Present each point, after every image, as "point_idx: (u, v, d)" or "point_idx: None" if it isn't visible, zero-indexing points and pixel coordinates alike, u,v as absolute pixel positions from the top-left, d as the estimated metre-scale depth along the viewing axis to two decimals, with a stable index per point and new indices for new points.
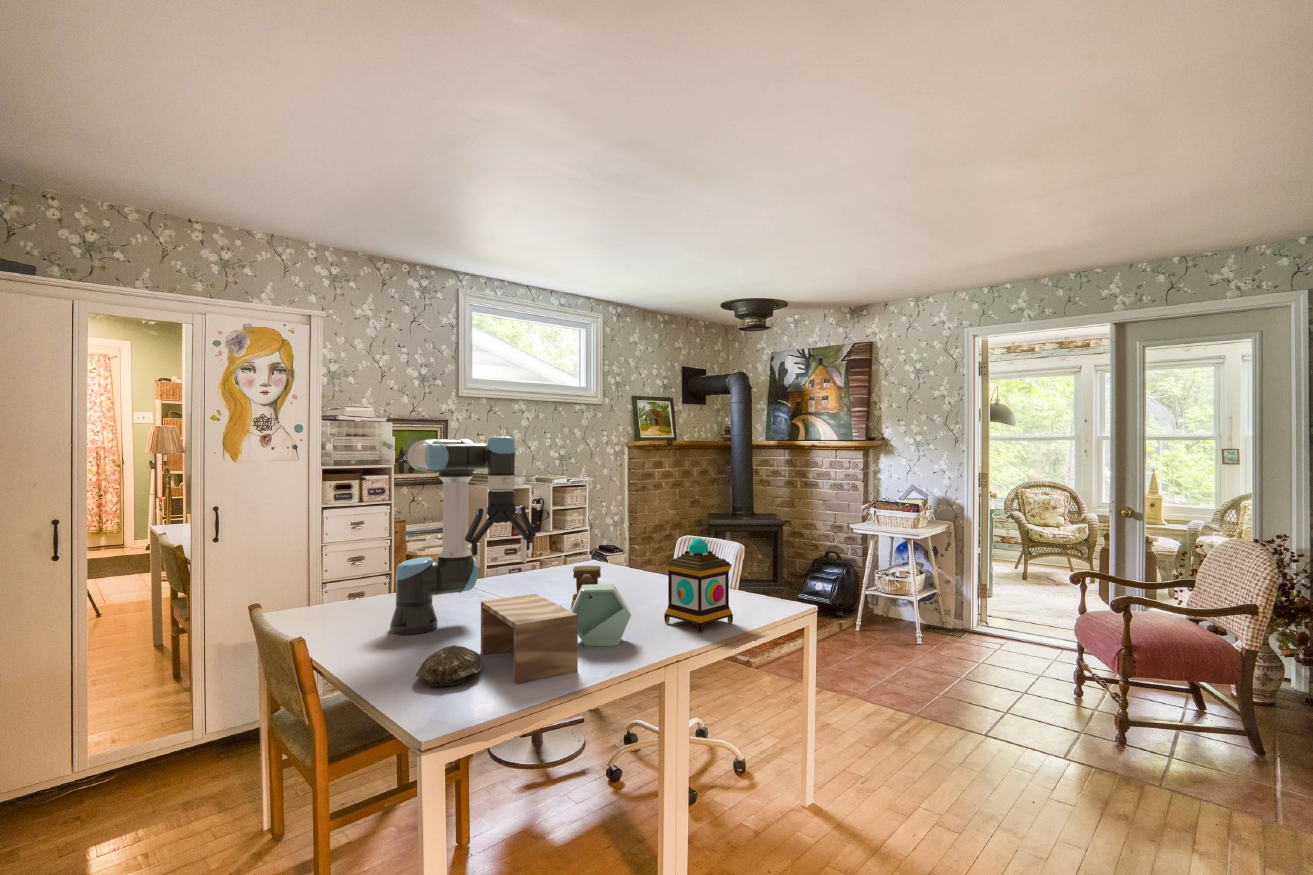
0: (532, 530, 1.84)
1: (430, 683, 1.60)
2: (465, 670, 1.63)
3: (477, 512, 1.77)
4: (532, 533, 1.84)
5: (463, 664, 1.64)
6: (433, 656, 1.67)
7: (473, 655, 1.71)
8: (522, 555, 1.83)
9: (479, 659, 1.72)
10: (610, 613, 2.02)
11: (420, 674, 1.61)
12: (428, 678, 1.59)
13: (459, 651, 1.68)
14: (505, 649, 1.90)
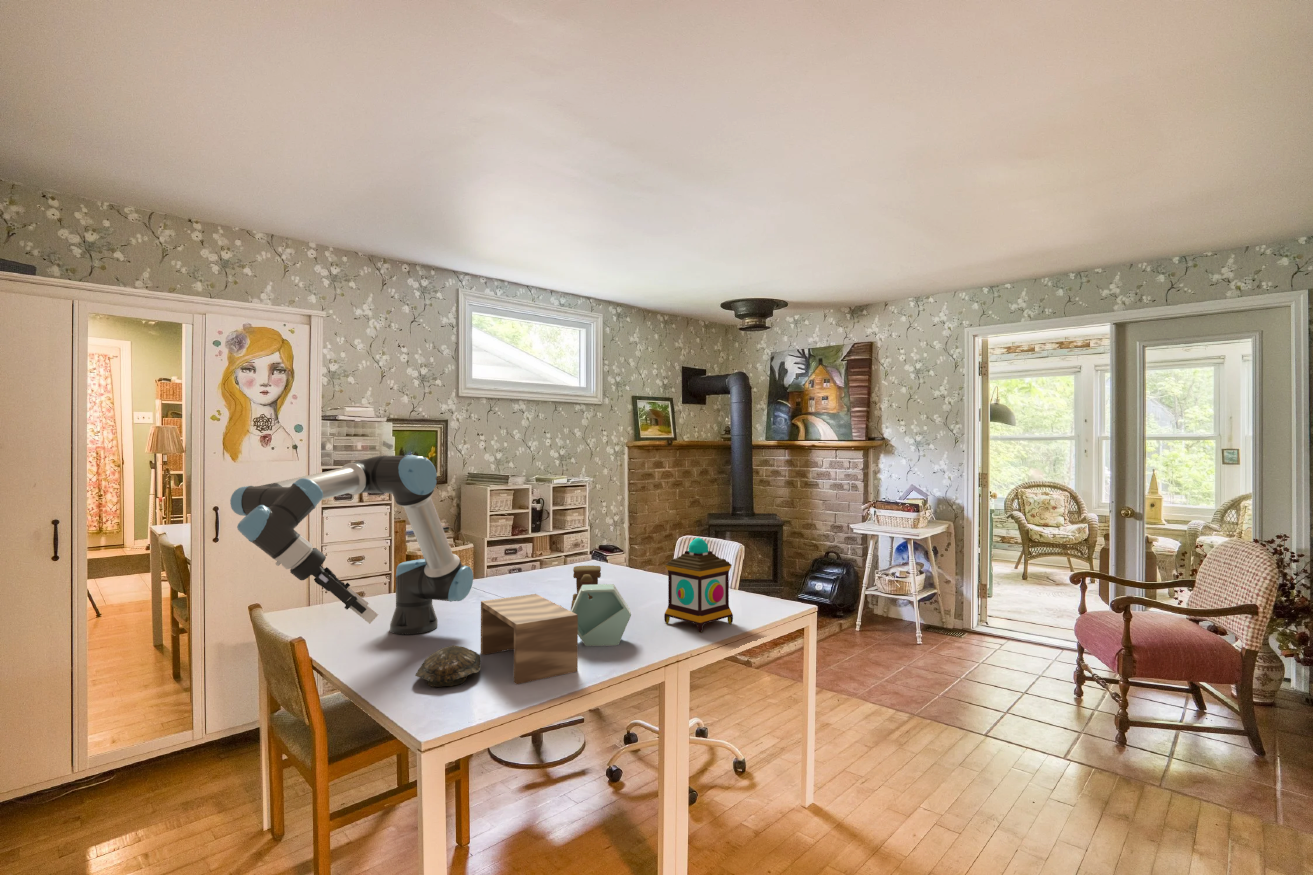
0: (342, 601, 1.46)
1: (430, 683, 1.60)
2: (465, 670, 1.63)
3: None
4: None
5: (463, 664, 1.64)
6: (433, 656, 1.67)
7: (473, 655, 1.71)
8: None
9: (479, 659, 1.72)
10: (610, 613, 2.02)
11: (420, 674, 1.61)
12: (428, 678, 1.59)
13: (459, 651, 1.68)
14: (505, 649, 1.90)
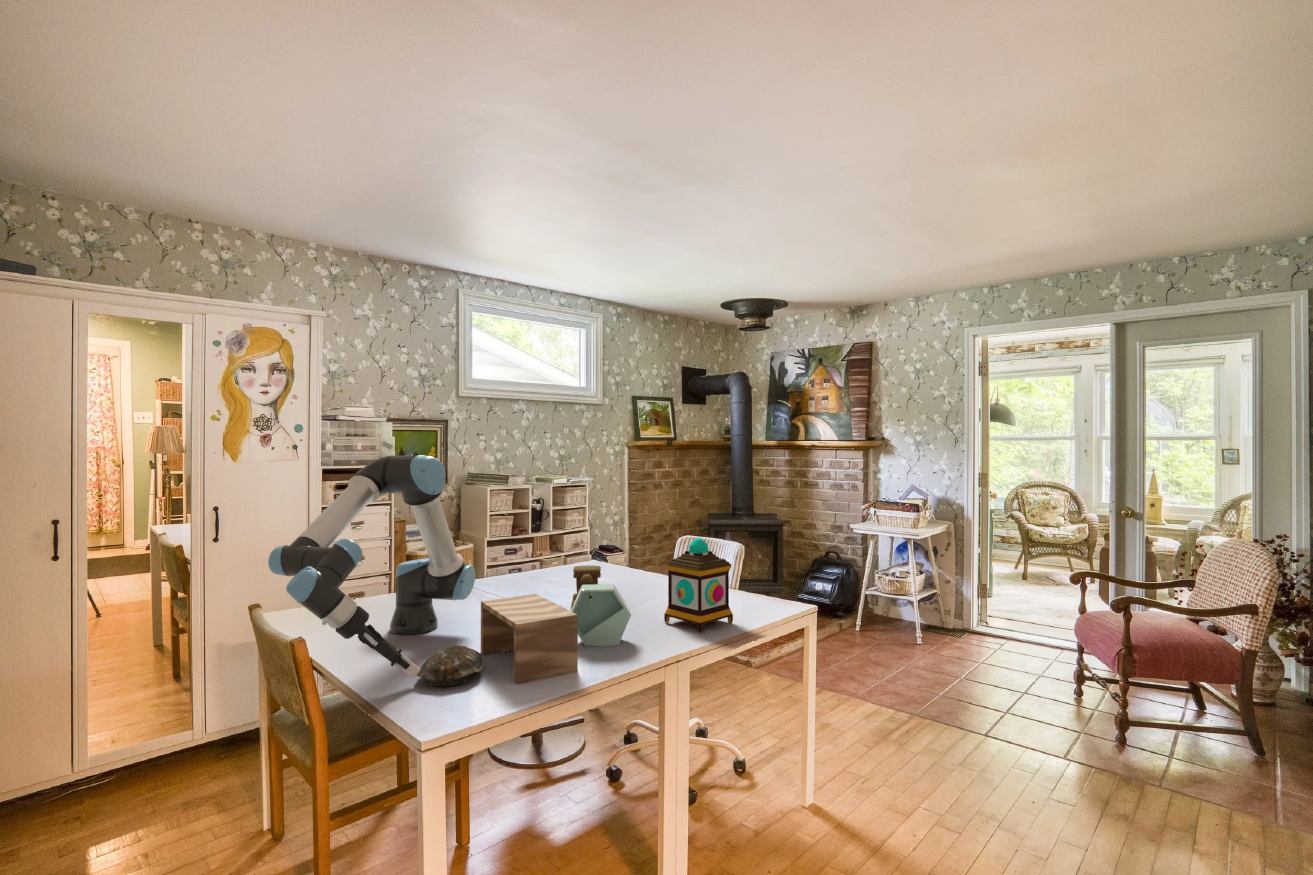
0: None
1: (432, 683, 1.60)
2: (466, 669, 1.63)
3: None
4: None
5: (464, 663, 1.64)
6: (434, 656, 1.67)
7: (474, 654, 1.71)
8: None
9: (480, 658, 1.72)
10: (610, 613, 2.02)
11: (421, 674, 1.61)
12: (430, 678, 1.59)
13: (460, 650, 1.68)
14: (505, 649, 1.90)
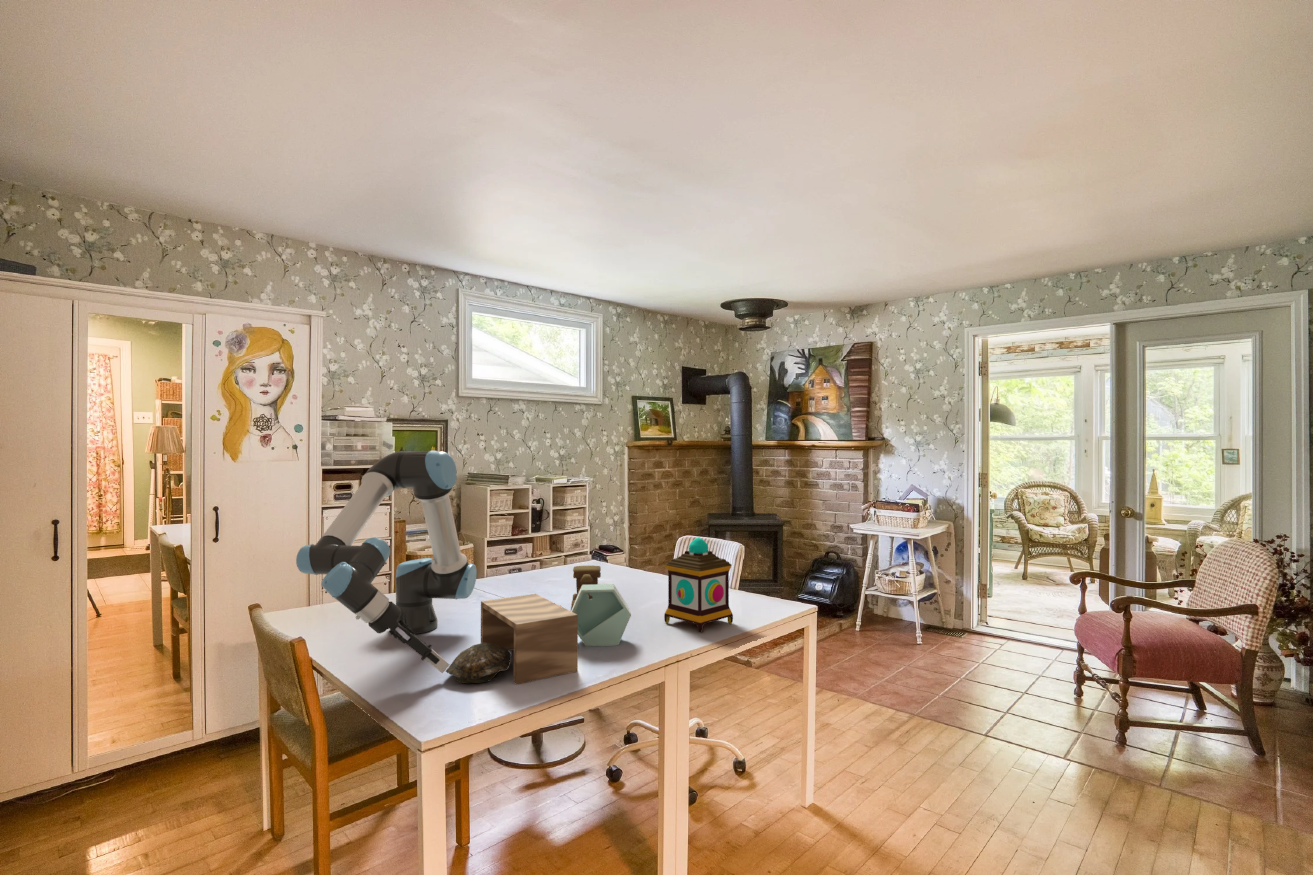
0: None
1: (458, 679, 1.63)
2: (492, 668, 1.64)
3: None
4: (421, 655, 1.60)
5: (490, 661, 1.65)
6: (463, 652, 1.70)
7: (503, 653, 1.72)
8: None
9: (509, 657, 1.73)
10: (610, 613, 2.02)
11: (449, 670, 1.64)
12: (456, 674, 1.61)
13: (488, 648, 1.70)
14: None
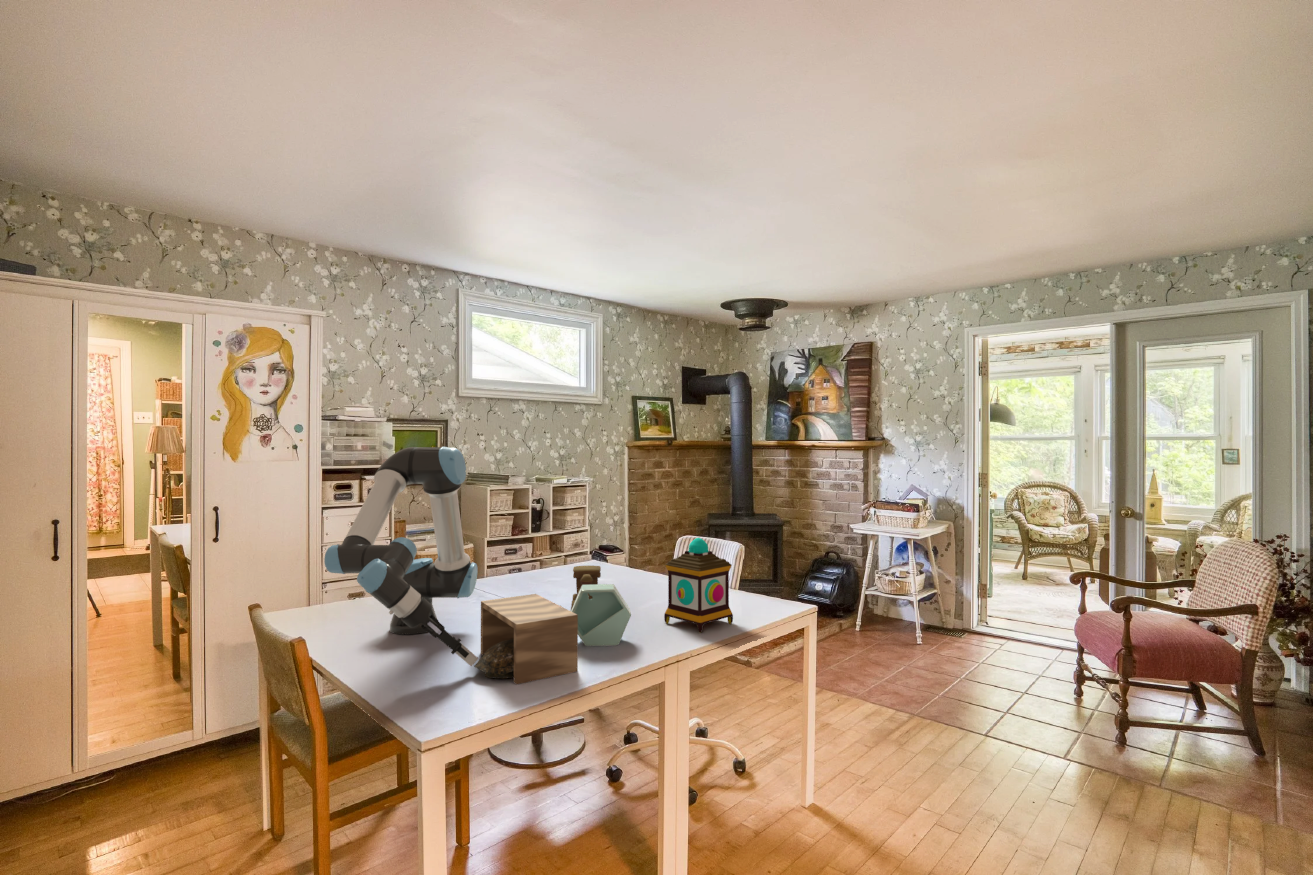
0: (450, 648, 1.64)
1: (486, 674, 1.66)
2: None
3: None
4: None
5: None
6: (491, 648, 1.73)
7: None
8: None
9: None
10: (610, 613, 2.02)
11: (477, 665, 1.68)
12: (483, 669, 1.65)
13: None
14: None
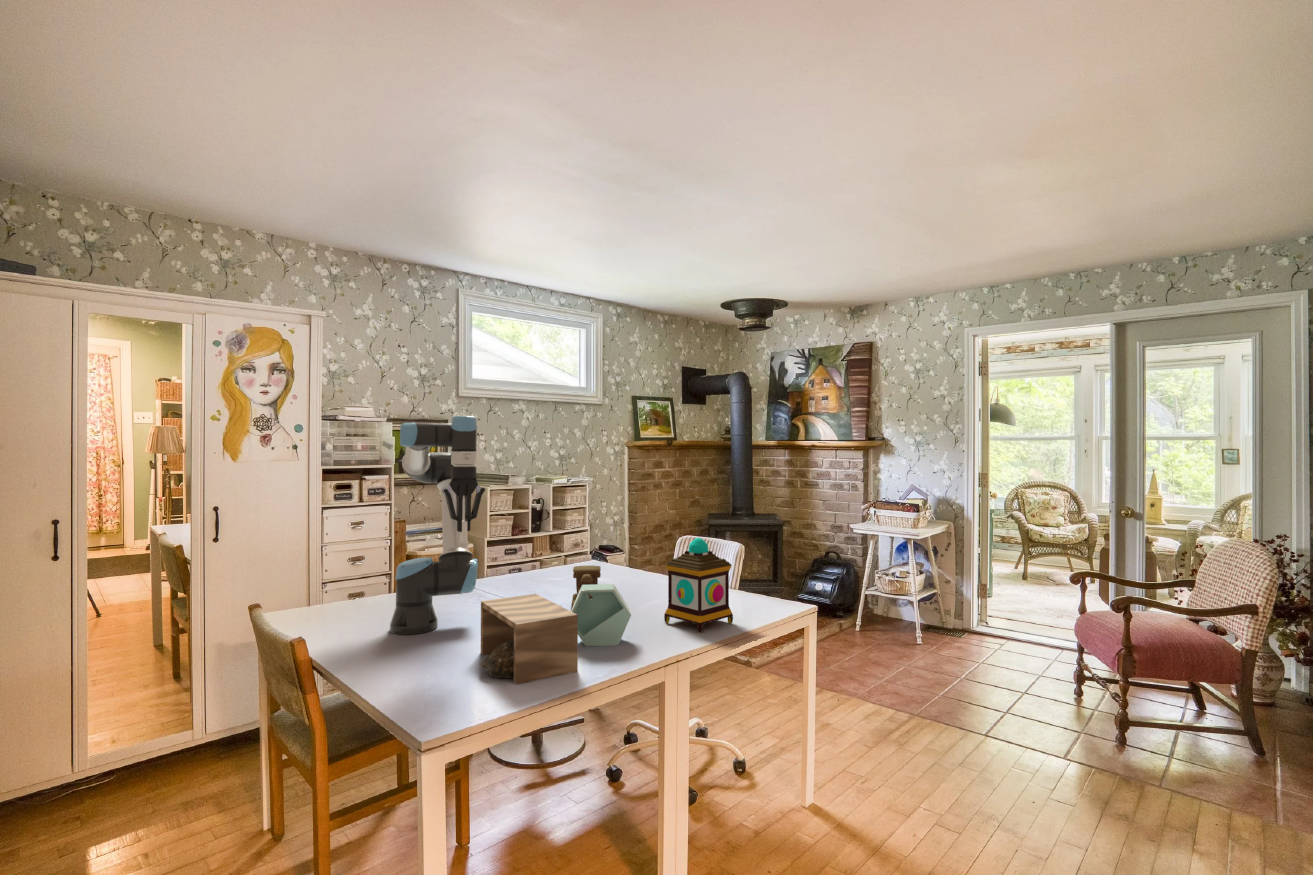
0: (476, 512, 1.94)
1: (490, 673, 1.67)
2: None
3: (444, 493, 1.90)
4: (474, 514, 1.94)
5: None
6: (498, 647, 1.74)
7: None
8: None
9: None
10: (610, 613, 2.02)
11: (483, 663, 1.69)
12: (488, 668, 1.66)
13: None
14: None
